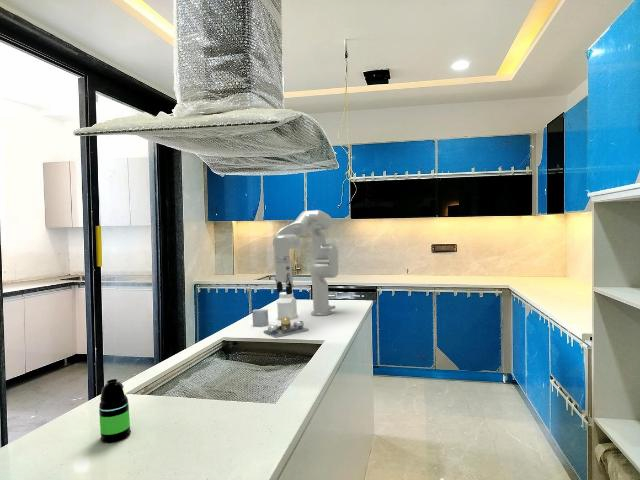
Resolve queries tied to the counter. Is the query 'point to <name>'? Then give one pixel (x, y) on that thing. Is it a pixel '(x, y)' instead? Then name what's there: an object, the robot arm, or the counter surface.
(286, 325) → the cylinder
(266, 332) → the shaft bench
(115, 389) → the bottle
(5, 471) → the counter surface
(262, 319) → the medicine box
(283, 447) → the counter surface
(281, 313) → the jar
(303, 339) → the counter surface
